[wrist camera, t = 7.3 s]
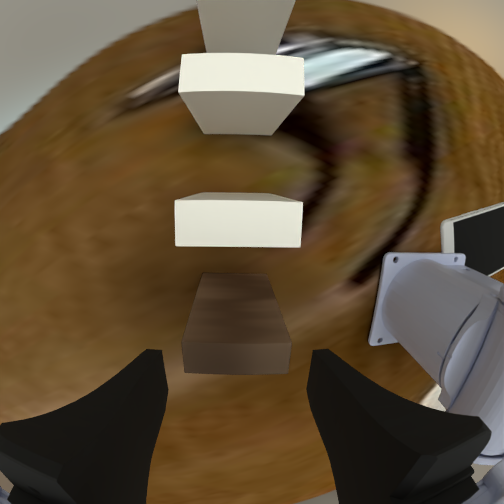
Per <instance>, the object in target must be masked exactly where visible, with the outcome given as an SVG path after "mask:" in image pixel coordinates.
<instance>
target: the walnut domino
mask: <svg viewBox="0 0 504 504" xmlns="http://www.w3.org/2000/svg"><path fill="white" fill-rule="evenodd" d="M291 346H292V342H291V339H290V336H289V334H288V331H287V328H286V325H285V323H284V320H283V317H282V314H281V312H280V309H279V306H278V303H277V301H276V298H275V295H274V292H273V290H272V287H271V284H270V281H269V279H268V276H267V274H237V273H203V274H202V277H201V280H200V283H199V287H198V290H197V293H196V296H195V299H194V302H193V306H192V309H191V312H190V315H189V319H188V322H187V325H186V328H185V332H184V335H183V339H182V352H183V362H184V372H185V373H199V374H230V375H258V374H288V369H289V362H290V354H291Z"/></svg>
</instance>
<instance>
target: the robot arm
mask: <svg viewBox="0 0 504 504" xmlns="http://www.w3.org/2000/svg"><path fill="white" fill-rule="evenodd" d="M394 257H396V260H395V261H394V262H393V259H394ZM454 258H455V260H454ZM465 259H466V257H465V255H464V254H462V253H415V252H388V253H386V254H385V255H384V257H383V263H382V270H381V276H380V283H379V289H378V295H377V300H376V306H375V311H374V316H373V321H372V325H371V330H370V334H369V339H368V342H369V344H370V345H371V346H376V345H383V344H390V343H397V342H399V343H400V344H401V345H402V346H403V347H404V348H405V349H406V350H407V351H408V353H409V354H410V355H411V356H412V357H413V358H414V359H415V360H416V361H417V362H418V363H419V364H420V365H421V366H422V367H423V369H424V370H425V371H426V372H427V373H428V374H429V375H430V376H431V377H432V378H433V379H434V380H435V382H436V383H437V384H438V385H439V386H440V387H441V388H442V390H441V394H440V396H439V398H438V400H439V401H440V402H441V404H442V405H443V406H444V407H445V408H446V411H445V412H444V411H440V410H436V409H432V408H429V407H426V406H423V405H420V404H417V403H414V402H412V401H409V400H407V399H404V398H402V397H400V396H398V395H396V394H394V393H392V392H390V391H388V390H386V389H384V388H383V387H381V386H379V385H378V384H376V383H375V382H373V381H371V380H370V379H368V378H367V377H365V376H364V375H362V374H361V373H360V372H358V371H357V370H355V369H354V368H353V367H351V366H350V365H349V364H347V363H346V362H345V361H343V360H342V359H341V358H340V357H338V356H337V355H336V354H334V353H333V352H332V351H330V350H329V349H321V350H313V353H312V359H311V366H310V372H309V377H308V383H307V394H308V399H309V403H310V408H311V411H312V414H313V417H314V419H315V422H316V425H317V427H318V430H319V432H320V435H321V438H322V440H323V443H324V445H325V448H326V450H327V453H328V456H329V460H330V463H331V468H332V472H333V476H334V480H335V485H336V490H337V495H338V500H339V504H504V284H503V283H501V282H499V281H497V280H495V279H493V278H490V277H488V276H486V275H484V274H482V273H480V272H478V271H475V270H473V269H471V268H469V267H466V266H464V265H465ZM379 338H380V340H378V339H379ZM167 396H168V385H167V379H166V374H165V368H164V362H163V355H162V350H153V349H146V350H145V351H144V352H142V353H141V354H140V355H139V356H138V357H137V358H135V359H134V360H133V361H132V362H131V363H130V364H128V365H127V366H126V367H125V368H124V369H122V370H121V371H120V372H119V373H118V374H116V375H115V376H114V377H112V378H111V379H110V380H108V381H107V382H105V383H104V384H103V385H101V386H100V387H99V388H97V389H96V390H94V391H92V392H91V393H89V394H88V395H86V396H84V397H82V398H80V399H79V400H77V401H75V402H73V403H70V404H68V405H66V406H64V407H61V408H59V409H57V410H54V411H52V412H49V413H46V414H43V415H40V416H36V417H33V418H28V419H24V420H18V421H13V422H6V423H2V424H1V425H0V471H1V472H2V473H3V474H4V475H5V476H6V477H7V478H8V479H9V480H10V481H11V482H12V484H13V485H14V486H13V488H12V490H11V492H10V493H8V492H7V491H5V490H4V489H2V488H1V486H0V504H146V496H147V486H148V477H149V470H150V463H151V458H152V454H153V450H154V447H155V444H156V440H157V437H158V433H159V430H160V427H161V423H162V420H163V416H164V413H165V409H166V402H167ZM472 463H475V464H480V465H495V466H494V467H492V469H490V470H489V471H488V472H487V474H486V475H485V476H484V477H483V479H482V480H480V481H479V482H477V483H475V482H474V480H473V479H472V477H471V475H472V474H473V473H474V469H473V468H472V467H471V465H472Z"/></svg>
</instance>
